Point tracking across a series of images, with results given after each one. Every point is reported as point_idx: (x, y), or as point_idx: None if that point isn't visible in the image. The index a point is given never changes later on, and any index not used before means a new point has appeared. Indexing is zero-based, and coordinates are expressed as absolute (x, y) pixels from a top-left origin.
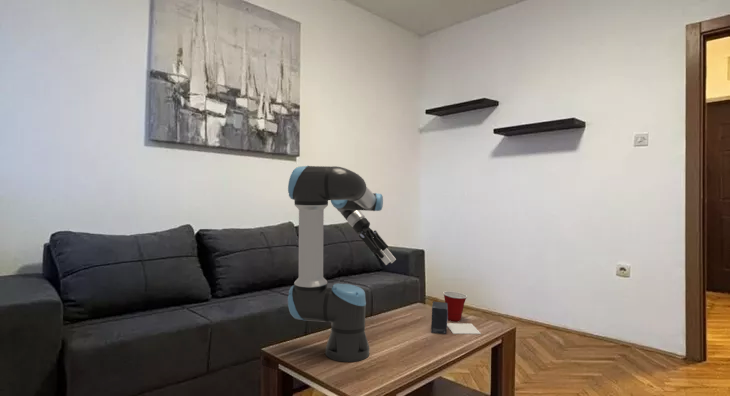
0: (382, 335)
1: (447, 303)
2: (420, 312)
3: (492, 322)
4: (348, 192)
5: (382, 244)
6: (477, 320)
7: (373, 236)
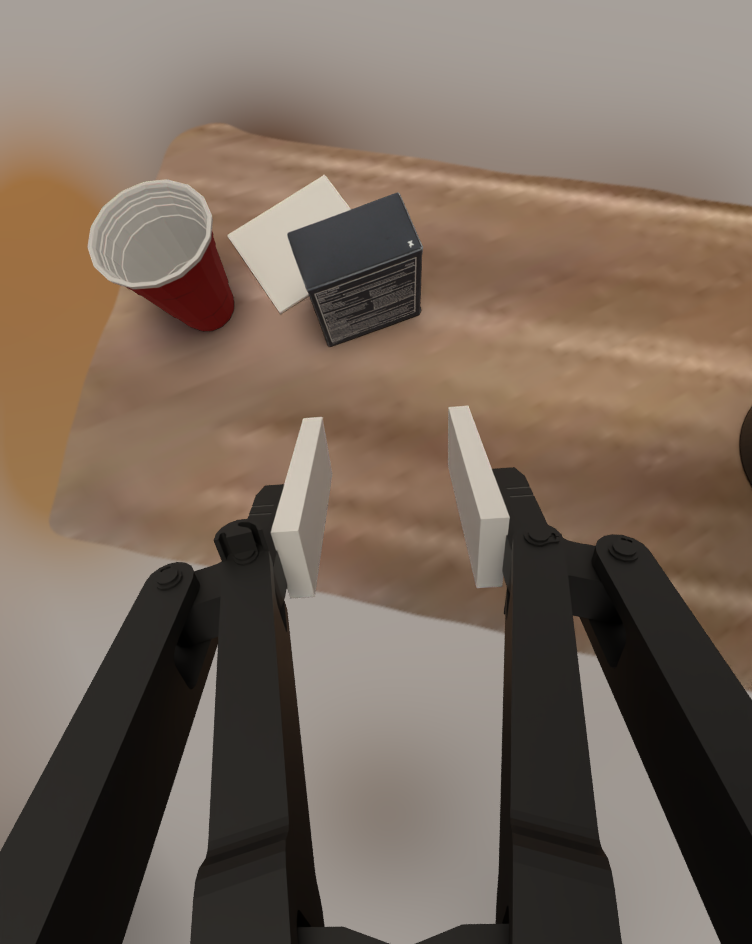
0: (565, 449)
1: (210, 278)
2: (176, 463)
3: None
4: None
5: (273, 616)
6: None
7: (342, 928)
